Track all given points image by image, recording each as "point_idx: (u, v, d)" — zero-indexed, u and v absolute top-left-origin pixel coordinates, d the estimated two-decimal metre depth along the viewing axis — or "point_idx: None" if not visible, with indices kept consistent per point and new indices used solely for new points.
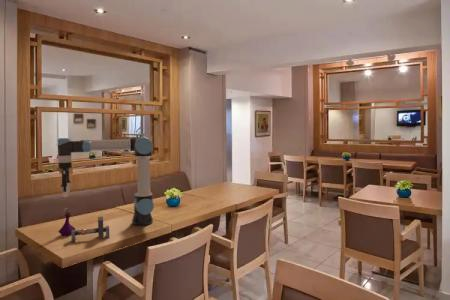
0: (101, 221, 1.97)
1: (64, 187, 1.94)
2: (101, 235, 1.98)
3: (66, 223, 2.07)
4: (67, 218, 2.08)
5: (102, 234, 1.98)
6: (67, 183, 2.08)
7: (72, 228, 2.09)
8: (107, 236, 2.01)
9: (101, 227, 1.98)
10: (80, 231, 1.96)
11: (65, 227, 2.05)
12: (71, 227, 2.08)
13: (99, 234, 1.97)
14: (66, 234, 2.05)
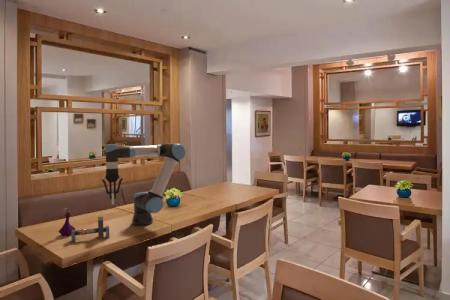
0: (101, 221, 1.97)
1: None
2: (101, 235, 1.98)
3: (66, 223, 2.07)
4: (67, 218, 2.08)
5: (102, 234, 1.98)
6: None
7: (72, 228, 2.09)
8: (107, 236, 2.01)
9: (101, 227, 1.98)
10: (80, 231, 1.96)
11: (65, 227, 2.05)
12: (71, 227, 2.08)
13: (99, 234, 1.97)
14: (66, 234, 2.05)
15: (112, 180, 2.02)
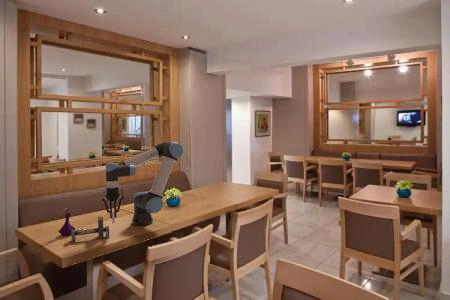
0: (101, 221, 1.97)
1: (110, 213, 2.03)
2: (101, 235, 1.98)
3: (66, 223, 2.07)
4: (67, 218, 2.08)
5: (102, 234, 1.98)
6: (113, 213, 2.04)
7: (72, 228, 2.09)
8: (107, 236, 2.01)
9: (101, 227, 1.98)
10: (80, 231, 1.96)
11: (65, 227, 2.05)
12: (71, 227, 2.08)
13: (99, 234, 1.97)
14: (66, 234, 2.05)
15: (112, 199, 2.02)
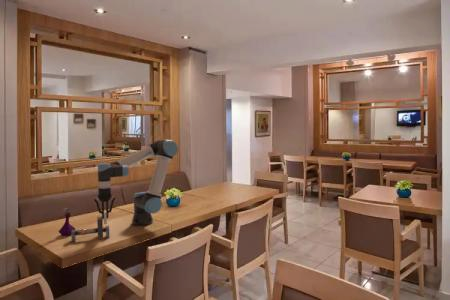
0: (100, 221, 1.97)
1: (102, 214, 2.01)
2: (100, 235, 1.98)
3: (66, 223, 2.07)
4: (67, 218, 2.08)
5: (101, 234, 1.98)
6: (105, 213, 2.02)
7: (72, 228, 2.09)
8: (107, 236, 2.01)
9: (100, 227, 1.97)
10: (80, 231, 1.96)
11: (65, 227, 2.05)
12: (71, 227, 2.08)
13: (98, 234, 1.97)
14: (66, 234, 2.05)
15: (104, 199, 2.01)
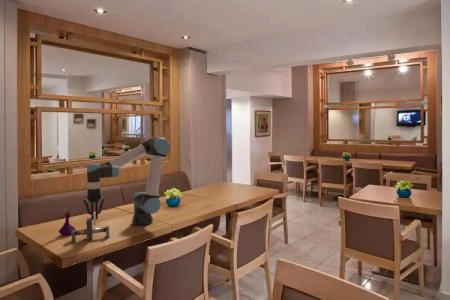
0: (89, 222, 1.95)
1: (91, 215, 1.99)
2: (90, 236, 1.95)
3: (66, 223, 2.07)
4: (67, 218, 2.08)
5: (91, 235, 1.96)
6: (94, 215, 2.00)
7: (72, 228, 2.09)
8: (107, 236, 2.01)
9: (89, 228, 1.95)
10: (80, 231, 1.96)
11: (65, 227, 2.05)
12: (71, 227, 2.08)
13: (87, 235, 1.95)
14: (66, 234, 2.05)
15: (94, 200, 1.98)
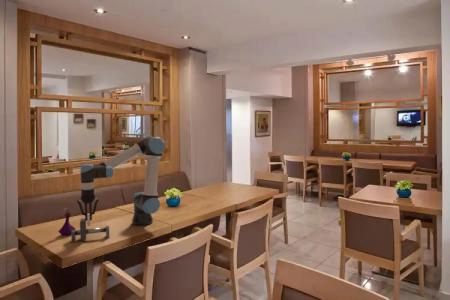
0: (83, 223, 1.94)
1: (85, 216, 1.98)
2: (83, 237, 1.94)
3: (66, 223, 2.07)
4: (67, 218, 2.08)
5: (84, 236, 1.94)
6: (88, 215, 1.98)
7: (72, 228, 2.09)
8: (107, 236, 2.01)
9: (83, 229, 1.94)
10: None
11: (65, 227, 2.05)
12: (71, 227, 2.08)
13: (81, 236, 1.94)
14: (66, 234, 2.05)
15: (88, 201, 1.97)
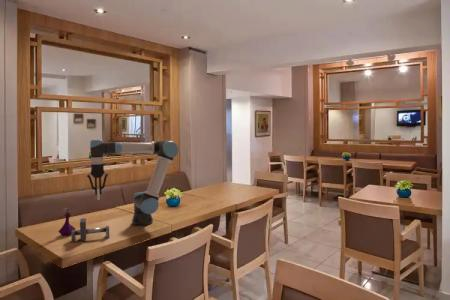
0: (83, 223, 1.94)
1: (95, 190, 2.03)
2: (83, 237, 1.94)
3: (66, 223, 2.07)
4: (67, 218, 2.08)
5: (84, 236, 1.94)
6: (98, 190, 2.03)
7: (72, 228, 2.09)
8: (107, 236, 2.01)
9: (83, 229, 1.94)
10: None
11: (65, 227, 2.05)
12: (71, 227, 2.08)
13: (81, 236, 1.94)
14: (66, 234, 2.05)
15: (97, 176, 2.02)
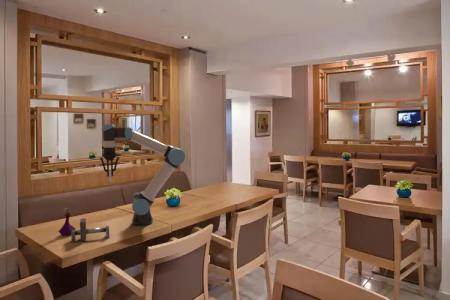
0: (83, 223, 1.94)
1: (107, 172, 2.13)
2: (83, 237, 1.94)
3: (66, 223, 2.07)
4: (67, 218, 2.08)
5: (84, 236, 1.94)
6: (110, 172, 2.14)
7: (72, 228, 2.09)
8: (107, 236, 2.01)
9: (83, 229, 1.94)
10: None
11: (65, 227, 2.05)
12: (71, 227, 2.08)
13: (81, 236, 1.94)
14: (66, 234, 2.05)
15: (109, 158, 2.13)
